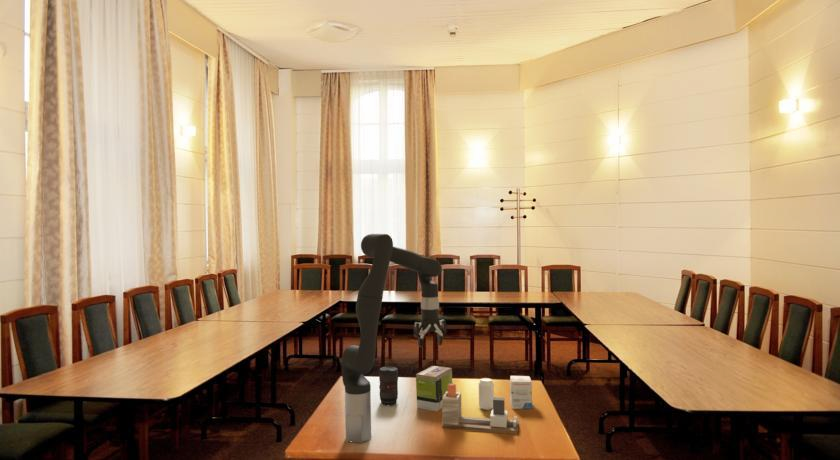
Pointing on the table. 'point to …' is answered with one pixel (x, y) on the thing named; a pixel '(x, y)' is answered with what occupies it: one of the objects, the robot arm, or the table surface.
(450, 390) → the cylinder
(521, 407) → the ink box
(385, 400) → the camera lens
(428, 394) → the tea box
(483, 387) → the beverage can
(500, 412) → the carriage
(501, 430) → the rail board
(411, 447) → the table surface
